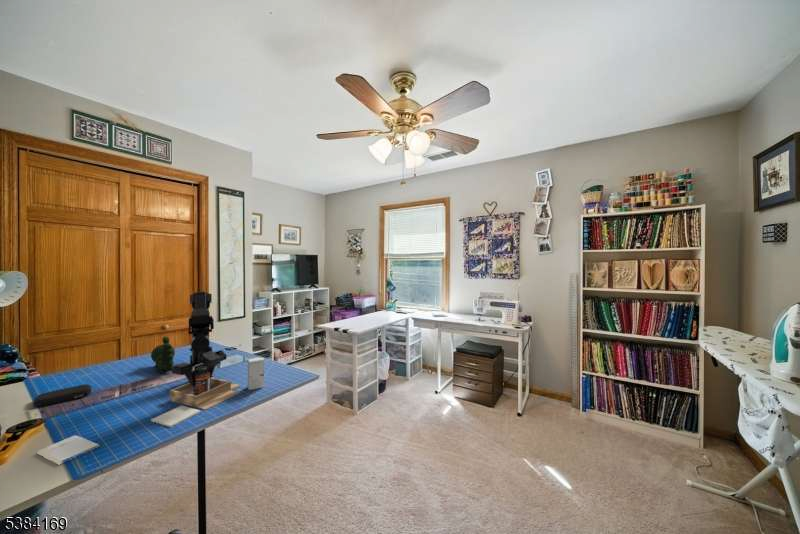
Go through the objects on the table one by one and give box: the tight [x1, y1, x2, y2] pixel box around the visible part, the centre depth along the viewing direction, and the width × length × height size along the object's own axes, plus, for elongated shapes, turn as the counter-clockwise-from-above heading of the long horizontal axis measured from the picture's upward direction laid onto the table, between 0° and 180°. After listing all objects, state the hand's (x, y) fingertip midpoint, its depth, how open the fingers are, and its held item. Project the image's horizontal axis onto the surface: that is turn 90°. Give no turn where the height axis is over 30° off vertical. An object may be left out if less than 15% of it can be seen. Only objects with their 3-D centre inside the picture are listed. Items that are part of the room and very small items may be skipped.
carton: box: [169, 377, 242, 411], centre depth 119 cm, size 20×20×4 cm
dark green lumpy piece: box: [150, 336, 176, 374], centre depth 145 cm, size 9×19×25 cm
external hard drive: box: [47, 434, 100, 462], centre depth 84 cm, size 2×8×12 cm
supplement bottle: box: [191, 366, 211, 396], centre depth 118 cm, size 6×6×11 cm
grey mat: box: [150, 405, 201, 428], centre depth 102 cm, size 10×10×1 cm
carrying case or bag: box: [32, 383, 92, 407], centre depth 114 cm, size 11×3×15 cm
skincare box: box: [247, 356, 265, 391], centre depth 126 cm, size 6×4×12 cm
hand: (201, 383), depth 118 cm, fingers closed on supplement bottle, 6 cm apart
